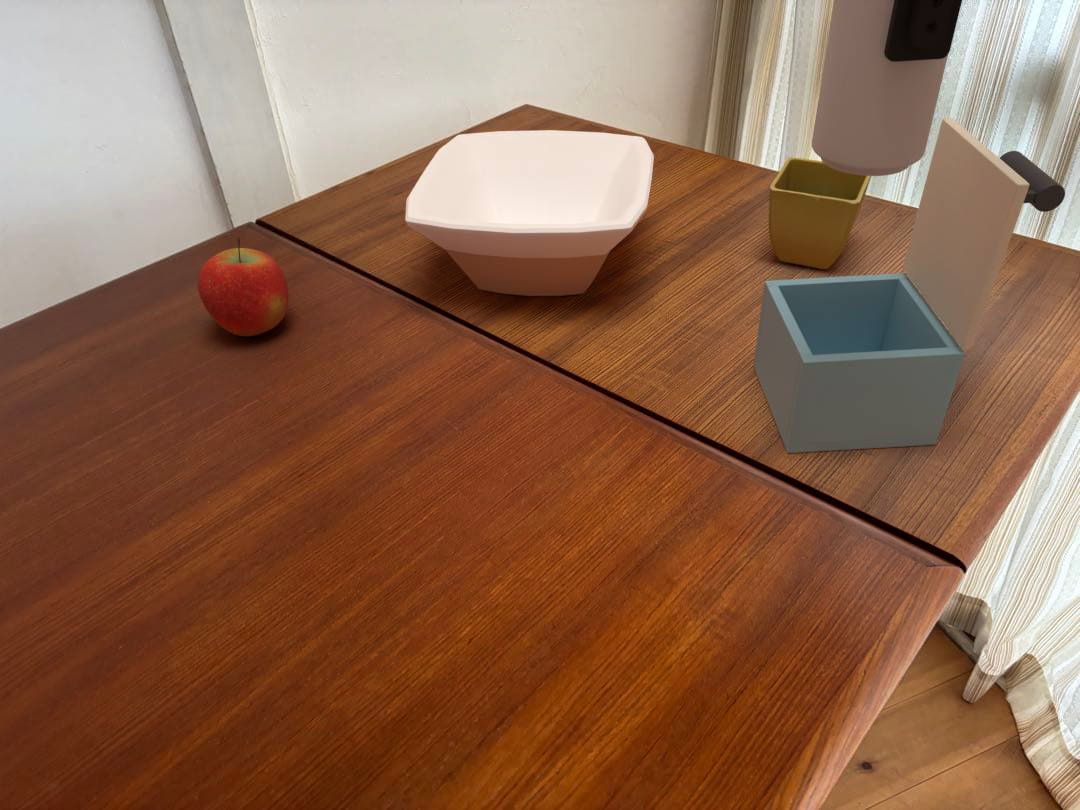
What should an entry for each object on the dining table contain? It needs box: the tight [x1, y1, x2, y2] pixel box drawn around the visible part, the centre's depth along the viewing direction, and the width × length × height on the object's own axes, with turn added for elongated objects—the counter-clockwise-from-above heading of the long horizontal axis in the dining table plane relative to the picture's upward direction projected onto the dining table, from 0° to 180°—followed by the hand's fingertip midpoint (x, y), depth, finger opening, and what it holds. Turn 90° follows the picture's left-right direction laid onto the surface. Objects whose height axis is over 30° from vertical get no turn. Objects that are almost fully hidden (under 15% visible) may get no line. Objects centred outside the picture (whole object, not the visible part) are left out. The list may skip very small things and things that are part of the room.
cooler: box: [752, 272, 966, 454], centre depth 69 cm, size 12×12×9 cm
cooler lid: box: [902, 117, 1066, 349], centre depth 62 cm, size 13×12×5 cm
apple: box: [197, 236, 289, 337], centre depth 82 cm, size 8×8×10 cm
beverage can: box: [811, 0, 949, 177], centre depth 47 cm, size 6×6×12 cm
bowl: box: [404, 129, 655, 297], centre depth 89 cm, size 24×25×11 cm
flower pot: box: [768, 156, 872, 270], centre depth 89 cm, size 9×9×9 cm
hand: (890, 35), depth 46 cm, fingers closed on beverage can, 6 cm apart
